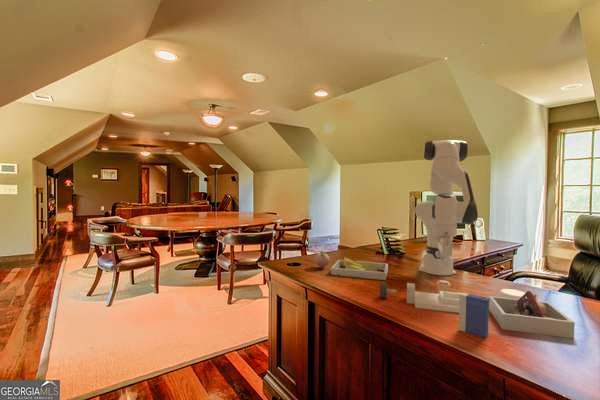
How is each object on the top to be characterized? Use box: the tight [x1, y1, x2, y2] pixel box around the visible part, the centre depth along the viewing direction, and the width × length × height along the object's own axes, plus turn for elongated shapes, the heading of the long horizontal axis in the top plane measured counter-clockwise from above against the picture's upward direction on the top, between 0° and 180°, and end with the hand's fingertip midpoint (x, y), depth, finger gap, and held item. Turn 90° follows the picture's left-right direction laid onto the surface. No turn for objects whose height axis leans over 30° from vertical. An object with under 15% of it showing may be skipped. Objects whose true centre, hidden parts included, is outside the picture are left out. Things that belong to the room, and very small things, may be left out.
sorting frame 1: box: [330, 259, 389, 281], centre depth 170 cm, size 21×28×4 cm
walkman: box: [458, 292, 490, 339], centre depth 99 cm, size 8×3×12 cm, turn 47°
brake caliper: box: [511, 290, 554, 319], centre depth 107 cm, size 11×11×12 cm
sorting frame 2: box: [488, 295, 576, 339], centre depth 107 cm, size 18×19×5 cm
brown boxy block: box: [436, 279, 452, 294], centre depth 135 cm, size 5×5×6 cm
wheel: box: [379, 282, 398, 299], centre depth 130 cm, size 6×7×6 cm
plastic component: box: [343, 256, 378, 272], centre depth 171 cm, size 20×7×10 cm
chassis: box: [406, 282, 463, 314], centre depth 124 cm, size 14×23×6 cm, turn 71°
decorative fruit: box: [313, 250, 331, 269], centre depth 178 cm, size 9×8×10 cm
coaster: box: [499, 288, 527, 300], centre depth 129 cm, size 10×10×4 cm
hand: (444, 263), depth 135 cm, fingers open, 8 cm apart
